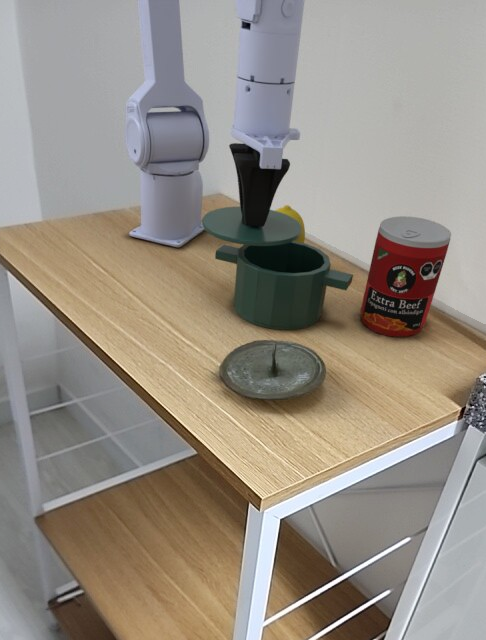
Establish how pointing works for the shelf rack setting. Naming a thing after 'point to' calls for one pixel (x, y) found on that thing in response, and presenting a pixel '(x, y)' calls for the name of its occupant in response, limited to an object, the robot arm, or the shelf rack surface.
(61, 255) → the shelf rack surface
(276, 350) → the metal candle holder
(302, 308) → the pot
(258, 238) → the pot lid
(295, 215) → the lemon
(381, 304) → the canned food
